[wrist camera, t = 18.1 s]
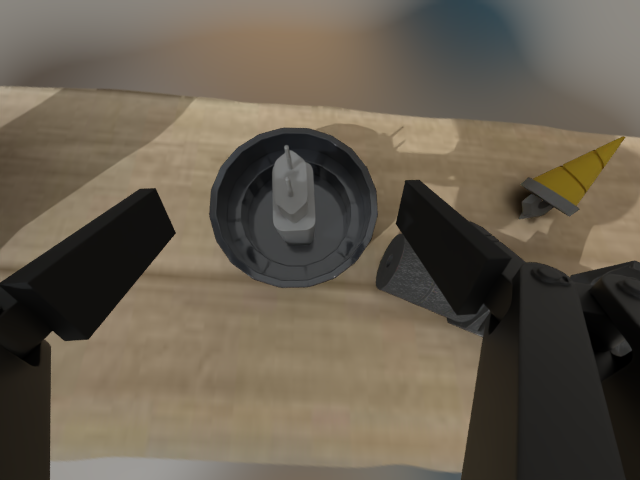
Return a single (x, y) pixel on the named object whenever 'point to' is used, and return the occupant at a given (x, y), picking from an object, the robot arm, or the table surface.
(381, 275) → the laser sight
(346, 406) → the table surface
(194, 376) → the table surface
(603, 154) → the drill bit
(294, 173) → the grey skyscraper model
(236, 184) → the bowl
